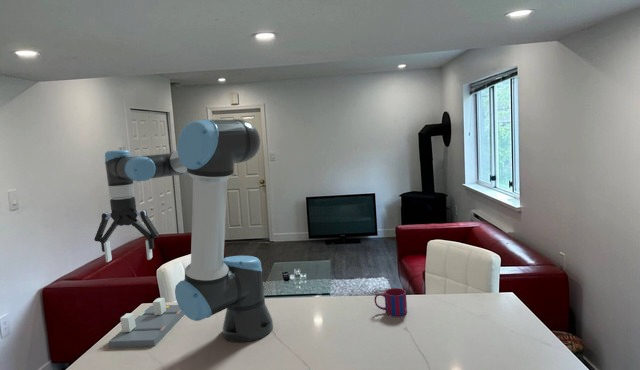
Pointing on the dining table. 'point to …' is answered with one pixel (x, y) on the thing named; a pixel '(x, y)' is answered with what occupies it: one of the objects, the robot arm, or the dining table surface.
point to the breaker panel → (148, 328)
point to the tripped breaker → (159, 306)
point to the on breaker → (128, 322)
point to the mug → (394, 302)
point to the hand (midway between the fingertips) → (129, 259)
